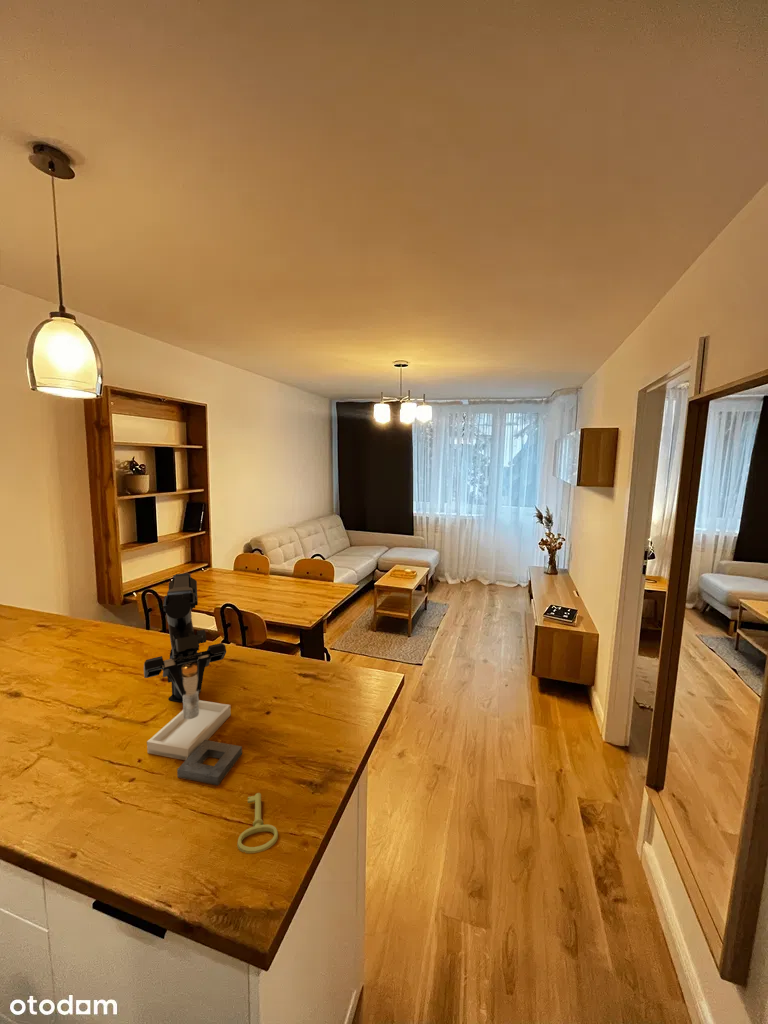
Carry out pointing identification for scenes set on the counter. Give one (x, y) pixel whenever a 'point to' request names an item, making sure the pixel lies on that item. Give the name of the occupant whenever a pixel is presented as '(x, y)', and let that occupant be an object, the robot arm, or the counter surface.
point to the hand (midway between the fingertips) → (191, 693)
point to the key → (257, 829)
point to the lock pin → (190, 690)
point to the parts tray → (188, 731)
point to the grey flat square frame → (207, 773)
